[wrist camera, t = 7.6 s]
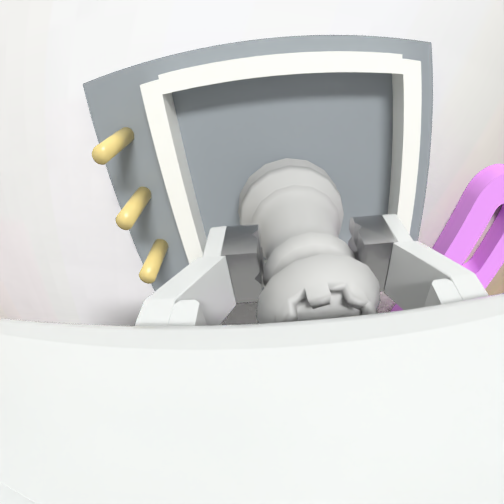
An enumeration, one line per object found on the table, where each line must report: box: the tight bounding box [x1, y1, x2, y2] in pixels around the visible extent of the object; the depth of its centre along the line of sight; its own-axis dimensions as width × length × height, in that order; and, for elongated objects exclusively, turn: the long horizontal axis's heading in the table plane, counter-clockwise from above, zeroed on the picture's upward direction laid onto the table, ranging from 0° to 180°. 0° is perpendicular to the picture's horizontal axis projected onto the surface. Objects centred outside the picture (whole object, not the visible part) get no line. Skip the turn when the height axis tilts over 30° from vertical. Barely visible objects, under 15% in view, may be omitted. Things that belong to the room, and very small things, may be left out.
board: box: [83, 35, 433, 291], centre depth 13 cm, size 15×13×4 cm
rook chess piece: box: [238, 158, 380, 324], centre depth 10 cm, size 4×4×8 cm
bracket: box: [390, 164, 504, 312], centre depth 14 cm, size 13×6×7 cm, turn 167°
